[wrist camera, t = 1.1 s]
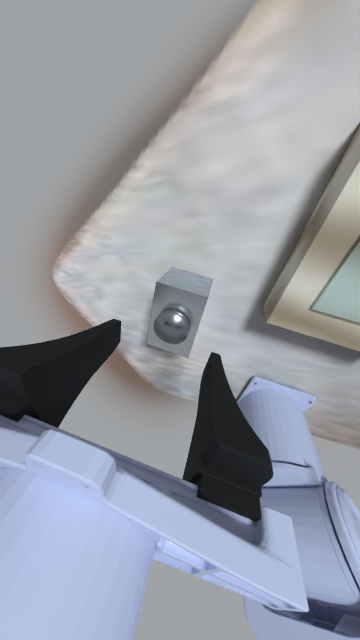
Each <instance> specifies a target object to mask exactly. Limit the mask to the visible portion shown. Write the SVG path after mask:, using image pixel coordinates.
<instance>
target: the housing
mask: <svg viewBox="0 0 360 640" xmlns="http://www.w3.org/2000/svg"><path fill="white" fill-rule="evenodd" d="M212 283H213V279H212V278H209V277H205V276H202V275H199V274H195V273H192V272H188V271H185V270H182V269H178V268H175V267H172V268H171V269H170V270H168V271H167V272H166V273H165V274H164V275H163V276H162V277H161V278H160V279H158V280H157V281H156V286H155V293H154V300H153V306H152V313H151V320H150V327H149V334H148V341H147V344H149V345H151V346H154V347H157V348H160V349H163V350H166V351H169V352H172V353H175V354H178V355H181V356H184V357H186V358H188V357H189V354H190V351H191V348H192V345H193V342H194V339H195V336H196V333H197V329H198V326H199V323H200V320H201V317H202V314H203V311H204V308H205V305H206V302H207V299H208V296H209V293H210V289H211V286H212Z"/></svg>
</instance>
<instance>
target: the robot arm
mask: <svg viewBox="0 0 360 640" xmlns="http://www.w3.org/2000/svg"><path fill="white" fill-rule="evenodd" d="M120 335H121V321H119V320H116V319H112V320H110V321H107V322H105V323H102V324H100V325H98V326H95V327H93V328H90V329H88V330H85V331H82V332H79V333H77V334H74V335H71V336H68V337H63V338H60V339H56V340H51V341H46V342H42V343H36V344H29V345H22V346H13V347H1V348H0V640H134V637H135V633H136V628H137V624H138V620H139V616H140V611H141V607H142V602H143V598H144V594H145V589H146V585H147V581H148V577H149V573H150V568H151V564H152V560H153V559H154V560H157V561H159V562H161V563H164V564H166V565H169V566H172V567H174V568H176V569H179V570H181V571H184V572H187V573H189V574H192V575H194V576H196V577H199V578H202V579H204V580H207V581H209V582H212V583H214V584H217V585H219V586H221V587H224V588H226V589H229V590H231V591H234V592H236V593H238V594H241V595H243V600H244V608H245V615H246V619H247V621H248V623H249V625H250V627H251V629H252V630H253V632H254V634H255V635H256V637H257V639H258V640H360V512H359V510H358V508H357V507H356V505H355V503H354V501H353V500H352V499H351V497H350V496H349V494H348V493H347V492H346V491H344V490H343V489H342V488H340V487H339V486H338V485H337V484H336V483H335V482H328V481H327V478H326V475H325V473H324V470H323V467H322V464H321V461H320V459H319V455H318V453H317V450H316V447H315V444H314V441H313V438H312V435H311V433H310V430H309V427H308V424H307V421H306V418H305V415H304V412H305V411H306V410H307V409H308V408H310V407H311V406H312V405H313V404H314V403H315V402H316V401H317V400H316V397H315V396H313V395H310V394H307V393H304V392H301V391H298V390H295V389H292V388H289V387H286V386H283V385H280V384H277V383H275V382H272V381H269V380H266V379H263V378H260V377H253V378H252V379H251V381H250V382H249V384H248V385H247V387H246V388H245V390H244V391H243V393H242V395H241V396H240V398H239V399H238V401H237V402H236V400H235V398H234V396H233V393H232V391H231V389H230V386H229V384H228V381H227V378H226V375H225V372H224V368H223V365H222V361H221V356H220V355H219V354H216V353H213V352H211V355H210V357H209V359H208V362H207V364H206V366H205V369H204V371H203V375H202V380H201V385H200V393H199V402H198V411H197V417H196V422H195V427H194V432H193V436H192V441H191V445H190V449H189V454H188V458H187V463H186V466H185V471H184V475H183V479H180V478H178V477H175V476H173V475H170V474H168V473H165V472H163V471H161V470H158V469H156V468H153V467H151V466H148V465H146V464H143V463H141V462H139V461H136V460H134V459H131V458H129V457H127V456H124V455H122V454H119V453H117V452H115V451H112V450H110V449H107V448H105V447H102V446H100V445H98V444H95V443H93V442H90V441H88V440H85V439H83V438H80V437H78V436H76V435H73V434H71V433H68V432H66V431H64V430H61V429H59V428H58V427H59V425H60V424H61V422H62V420H63V419H64V417H65V415H66V414H67V412H68V410H69V409H70V407H71V406H72V404H73V402H74V401H75V400H76V398H77V397H78V395H79V394H80V392H81V391H82V389H83V388H84V386H85V385H86V384H87V382H88V381H89V379H90V378H91V377H92V376H93V374H94V373H95V372H96V371H97V370H98V369H99V368H100V366H101V365H102V364H103V363H104V362H105V360H107V359H108V357H109V356H110V355H111V354H112V353H113V351H114V350H115V349H116V347H117V346H118V344H119V342H120ZM254 382H255V383H254Z"/></svg>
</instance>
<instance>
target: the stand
mask: <svg viewBox="0 0 360 640" xmlns="http://www.w3.org/2000/svg"><path fill="white" fill-rule="evenodd" d="M262 309H263V312H264V316H265V319H266V322H267V323H270V324H273V325H276V326H279V327H282V328H286V329H289V330H292V331H295V332H299V333H302V334H305V335H308V336H312V337H315V338H318V339H321V340H324V341H328V342H331V343H334V344H337V345H341V346H344V347H347V348H350V349H354V350H357V351H360V125H359V127H358V129H357V130H356V132H355V134H354V136H353V138H352V140H351V142H350V144H349V145H348V147H347V149H346V151H345V153H344V155H343V157H342V159H341V161H340V162H339V164H338V166H337V168H336V170H335V172H334V174H333V176H332V178H331V179H330V181H329V183H328V185H327V187H326V189H325V191H324V193H323V194H322V196H321V198H320V200H319V202H318V204H317V206H316V208H315V210H314V211H313V213H312V215H311V217H310V219H309V221H308V223H307V225H306V227H305V228H304V230H303V232H302V234H301V236H300V238H299V240H298V242H297V243H296V245H295V247H294V249H293V251H292V253H291V255H290V257H289V259H288V260H287V262H286V264H285V266H284V268H283V270H282V272H281V274H280V276H279V277H278V279H277V281H276V283H275V285H274V287H273V289H272V291H271V292H270V294H269V296H268V298H267V300H266V302H265V304H264V306H263V308H262Z"/></svg>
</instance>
